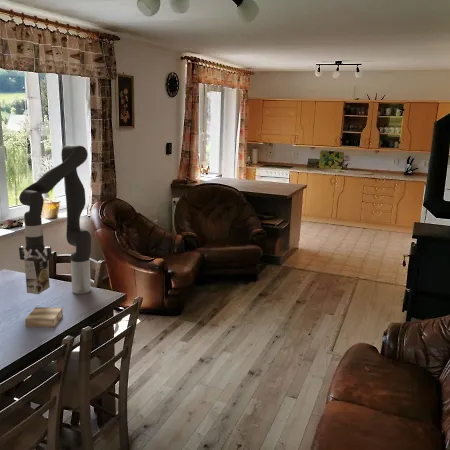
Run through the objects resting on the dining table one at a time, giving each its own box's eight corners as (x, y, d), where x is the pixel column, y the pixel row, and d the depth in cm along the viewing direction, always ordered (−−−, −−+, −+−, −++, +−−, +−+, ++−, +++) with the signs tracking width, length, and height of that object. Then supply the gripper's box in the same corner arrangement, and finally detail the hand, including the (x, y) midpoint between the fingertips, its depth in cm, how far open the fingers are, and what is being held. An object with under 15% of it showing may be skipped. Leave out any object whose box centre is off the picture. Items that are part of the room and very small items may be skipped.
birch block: (36, 315, 205) (35, 307, 204) (62, 315, 206) (62, 307, 205) (26, 327, 193) (25, 319, 192) (54, 327, 194) (53, 319, 193)
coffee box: (39, 294, 205) (36, 261, 201) (26, 293, 206) (23, 260, 202) (50, 287, 214) (48, 255, 209) (38, 285, 215) (35, 253, 211)
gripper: (52, 232, 207) (55, 265, 211) (21, 231, 206) (24, 265, 210) (47, 236, 200) (49, 271, 204) (14, 236, 199) (17, 270, 203)
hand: (36, 268), depth 207 cm, fingers closed on coffee box, 7 cm apart
